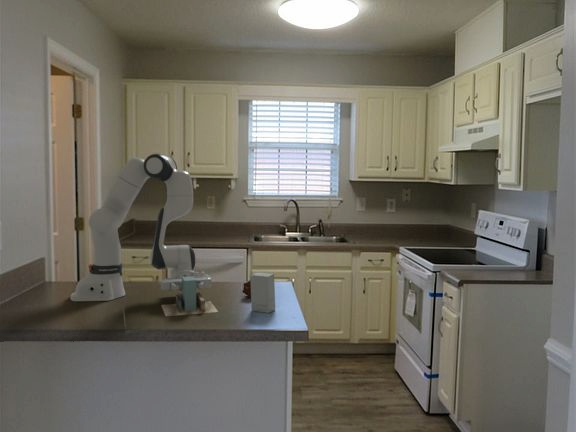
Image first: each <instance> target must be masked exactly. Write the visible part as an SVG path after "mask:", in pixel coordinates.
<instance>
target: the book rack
mask: <svg viewBox="0 0 576 432" xmlns="http://www.w3.org/2000/svg"><path fill="white" fill-rule="evenodd" d="M176 295H178V296H179V298H180V300H181V313H179V311H178V309H177V307H176V303H172V304H171V303H170V304H161V308H162V311H163V315H164V316H165V317H172V316H173V317H174V316H175V317H176V316H186V315H187V316H188V315H198V314H199V315H200V314H209V313H210V314H212V313H218V312H219V311H218V309H217V308H216V306H215V305H214V304H213V302H212V301H211V300H209V301H206V300H205V298H204V297H203V296H202V294H201V292H196V310H194V311H184V309H183V307H182V293H177V294H176Z"/></svg>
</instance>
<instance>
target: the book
mask: <svg viewBox="0 0 576 432" xmlns="http://www.w3.org/2000/svg"><path fill="white" fill-rule="evenodd" d="M196 293H197V288H196V279H195V278H194V277H193V276H191V277H182V291H181V294H182V307H183V309H184V311H194V310H196Z"/></svg>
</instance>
